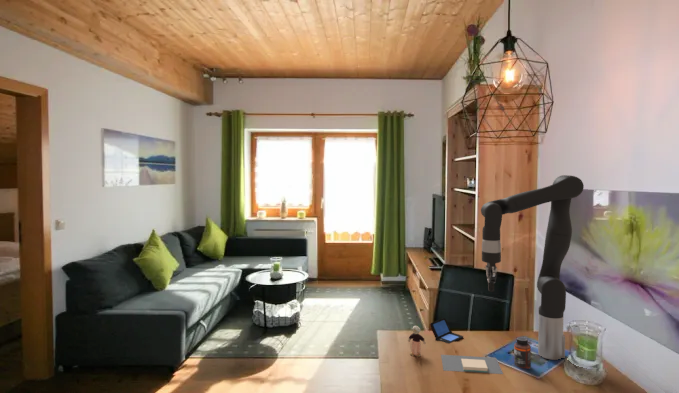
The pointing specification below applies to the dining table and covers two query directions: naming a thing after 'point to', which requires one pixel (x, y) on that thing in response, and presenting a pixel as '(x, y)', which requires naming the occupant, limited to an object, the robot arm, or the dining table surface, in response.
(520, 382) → the dining table surface
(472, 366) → the tile
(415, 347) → the grandmother figurine
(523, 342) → the supplement bottle
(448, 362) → the mat
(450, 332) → the handheld game console
